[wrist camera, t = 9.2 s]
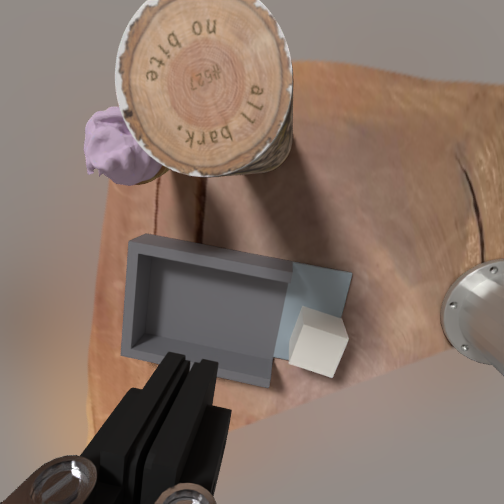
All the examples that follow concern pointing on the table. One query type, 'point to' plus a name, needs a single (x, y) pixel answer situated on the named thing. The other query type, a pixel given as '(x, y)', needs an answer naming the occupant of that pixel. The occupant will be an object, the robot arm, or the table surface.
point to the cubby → (220, 304)
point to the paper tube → (207, 86)
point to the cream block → (317, 342)
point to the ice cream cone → (117, 151)
